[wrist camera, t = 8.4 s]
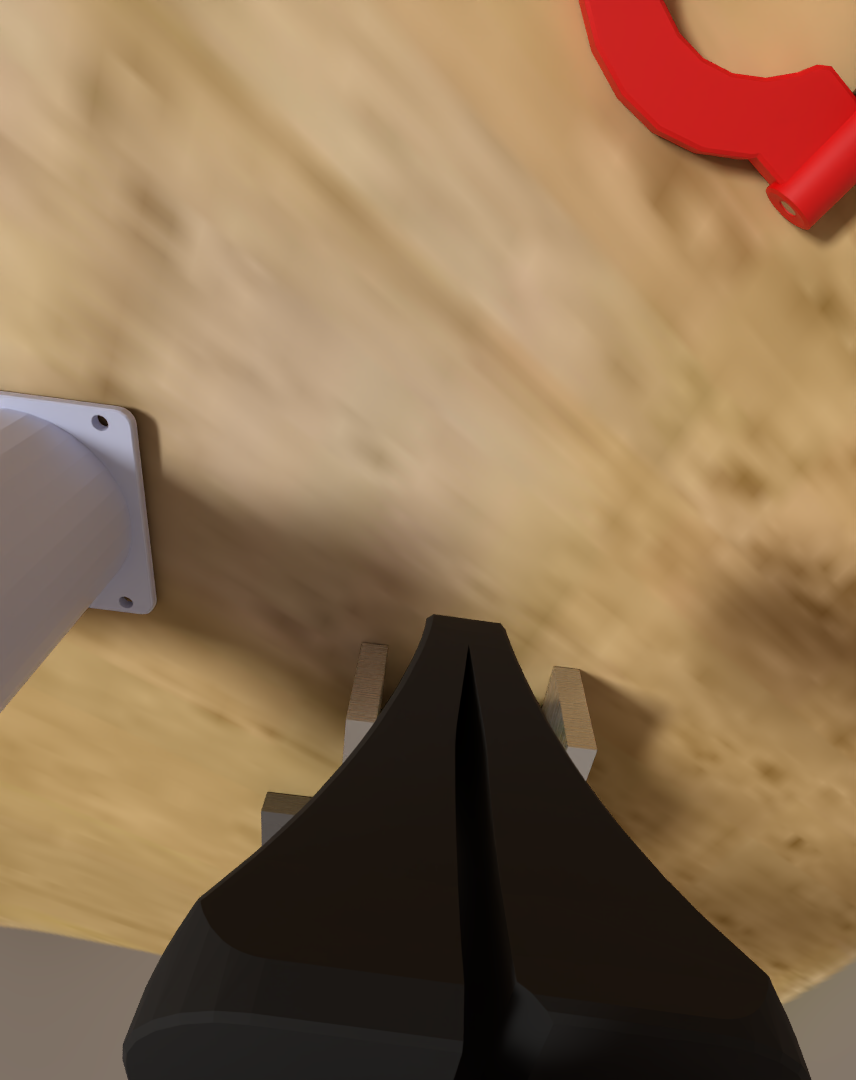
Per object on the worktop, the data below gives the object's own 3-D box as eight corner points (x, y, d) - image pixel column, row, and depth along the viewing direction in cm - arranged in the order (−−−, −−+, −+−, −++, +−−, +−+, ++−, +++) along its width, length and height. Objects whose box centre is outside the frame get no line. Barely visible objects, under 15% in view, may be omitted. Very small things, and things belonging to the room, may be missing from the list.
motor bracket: (267, 870, 33) (229, 1007, 28) (265, 630, 25) (212, 758, 20) (579, 907, 33) (601, 1050, 28) (674, 681, 25) (730, 820, 20)
